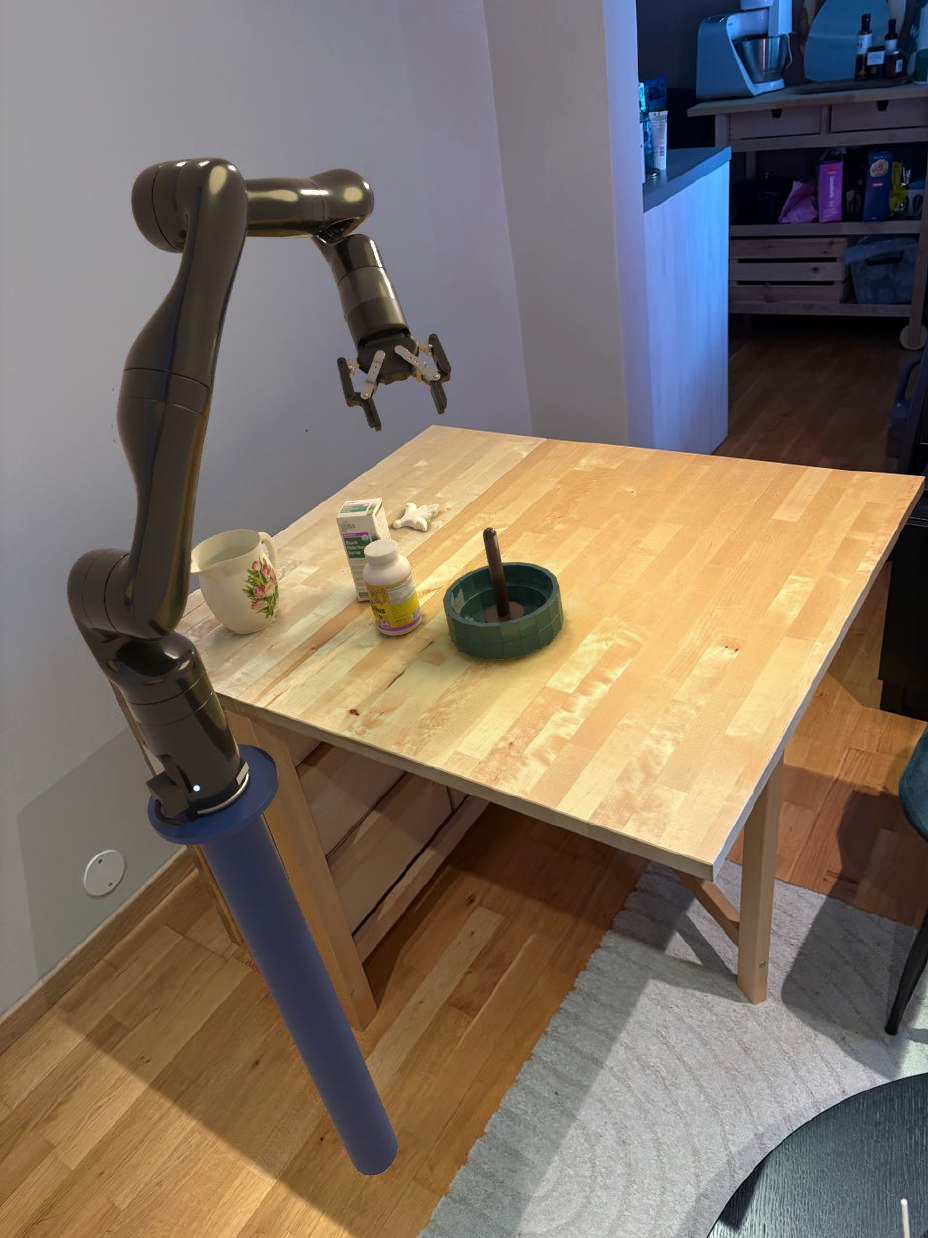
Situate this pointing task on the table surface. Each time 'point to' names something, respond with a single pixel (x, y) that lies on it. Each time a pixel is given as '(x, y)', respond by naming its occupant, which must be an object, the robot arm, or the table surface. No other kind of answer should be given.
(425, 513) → the acanthus leaf ornament
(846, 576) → the table surface
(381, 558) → the supplement bottle
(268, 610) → the pitcher
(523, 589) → the bowl
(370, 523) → the syrup box
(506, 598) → the brown peg on disc
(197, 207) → the robot arm
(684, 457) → the table surface
